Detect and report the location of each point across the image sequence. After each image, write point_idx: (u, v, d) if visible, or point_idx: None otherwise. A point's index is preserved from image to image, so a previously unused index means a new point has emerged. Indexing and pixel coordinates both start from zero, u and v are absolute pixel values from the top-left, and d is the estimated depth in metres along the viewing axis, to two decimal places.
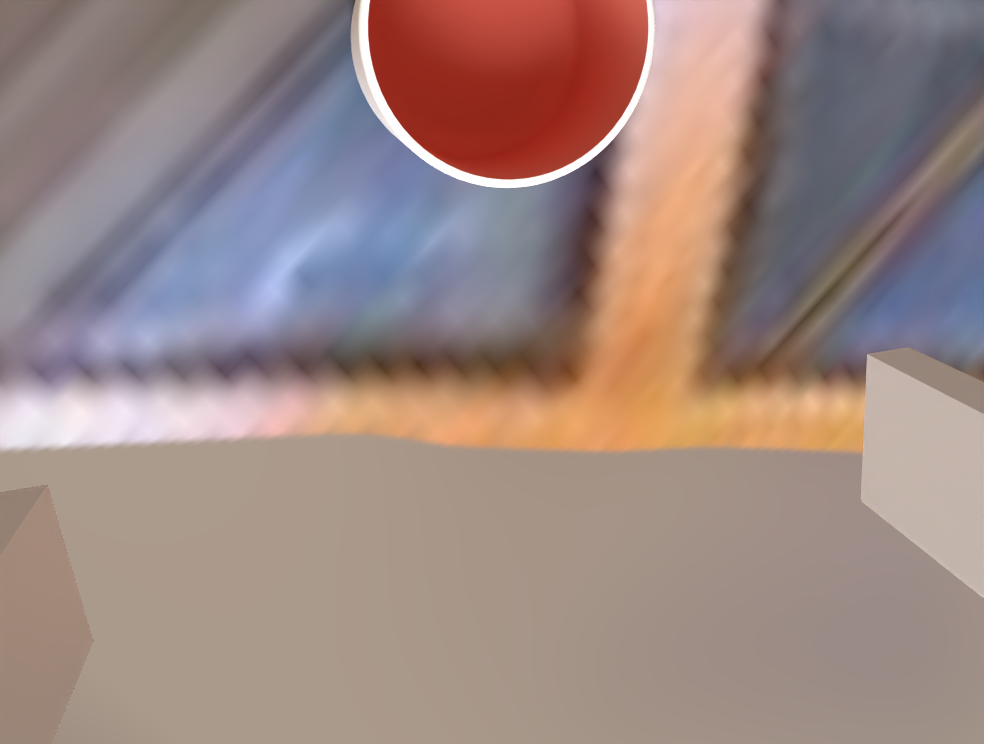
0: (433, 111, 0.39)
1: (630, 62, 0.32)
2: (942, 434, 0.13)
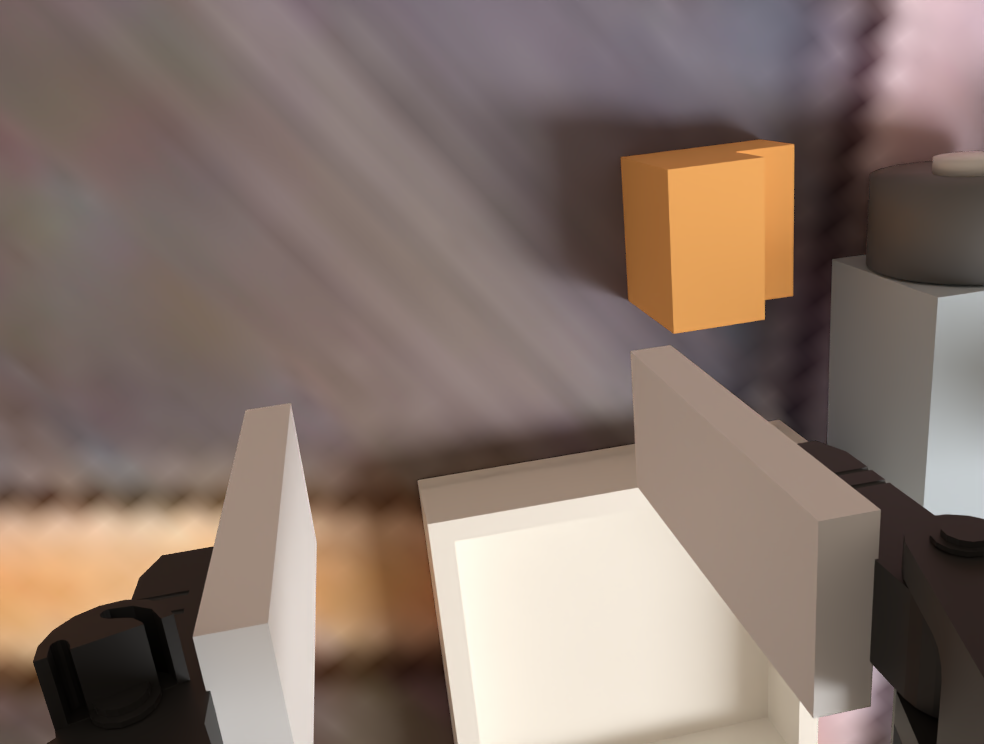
0: None
1: None
2: (672, 423, 0.14)
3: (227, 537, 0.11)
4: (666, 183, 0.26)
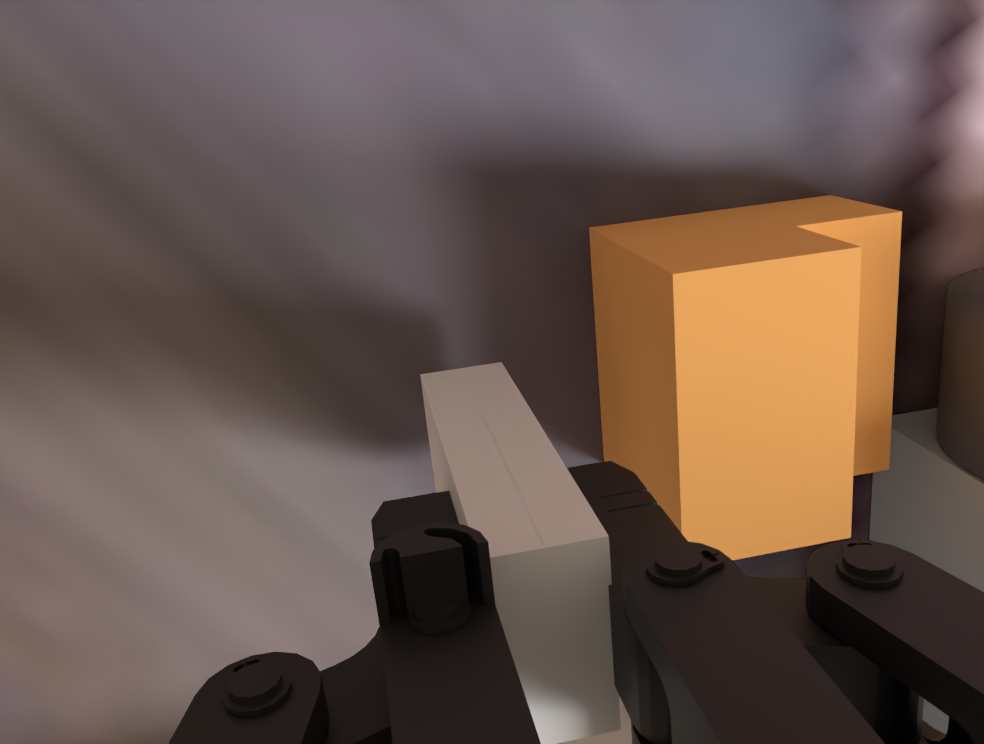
0: None
1: None
2: None
3: (464, 480, 0.12)
4: (670, 299, 0.13)
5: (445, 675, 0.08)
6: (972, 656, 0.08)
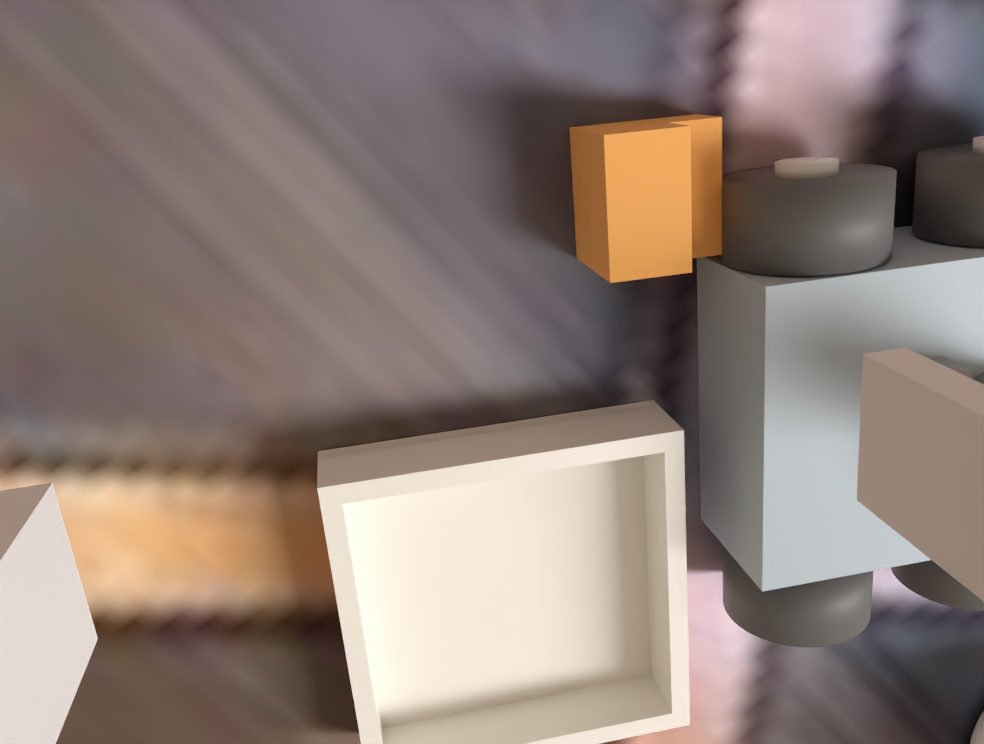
0: None
1: None
2: (936, 433, 0.13)
3: None
4: (603, 147, 0.30)
5: None
6: None
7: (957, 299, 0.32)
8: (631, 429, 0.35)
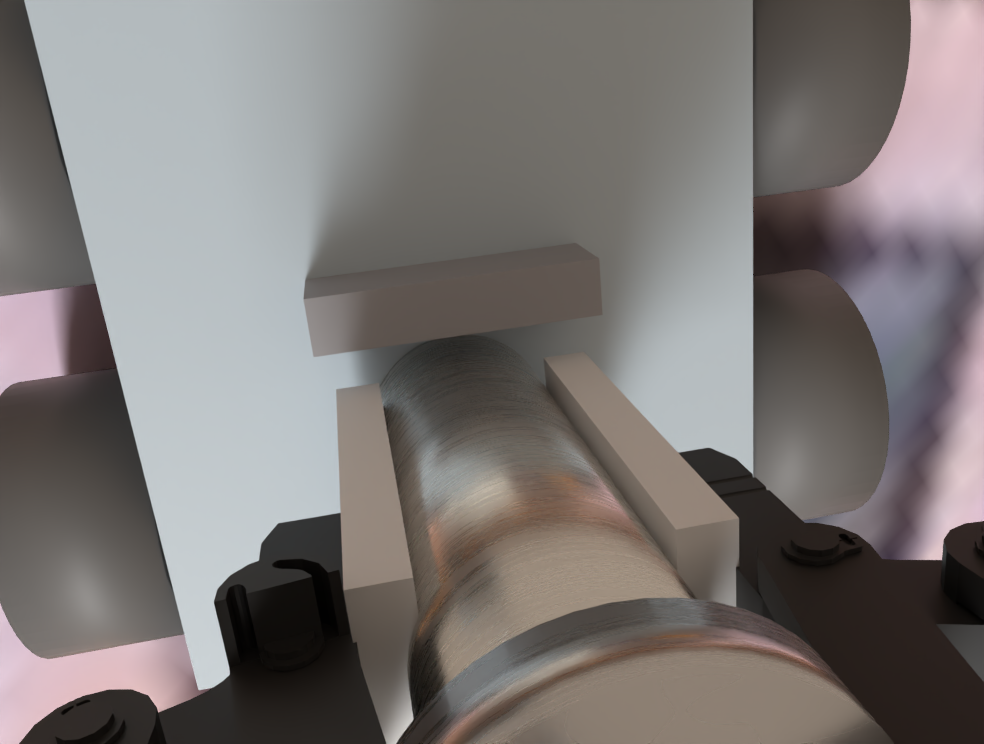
0: None
1: None
2: None
3: (351, 503, 0.11)
4: None
5: (298, 712, 0.08)
6: None
7: (684, 298, 0.17)
8: None
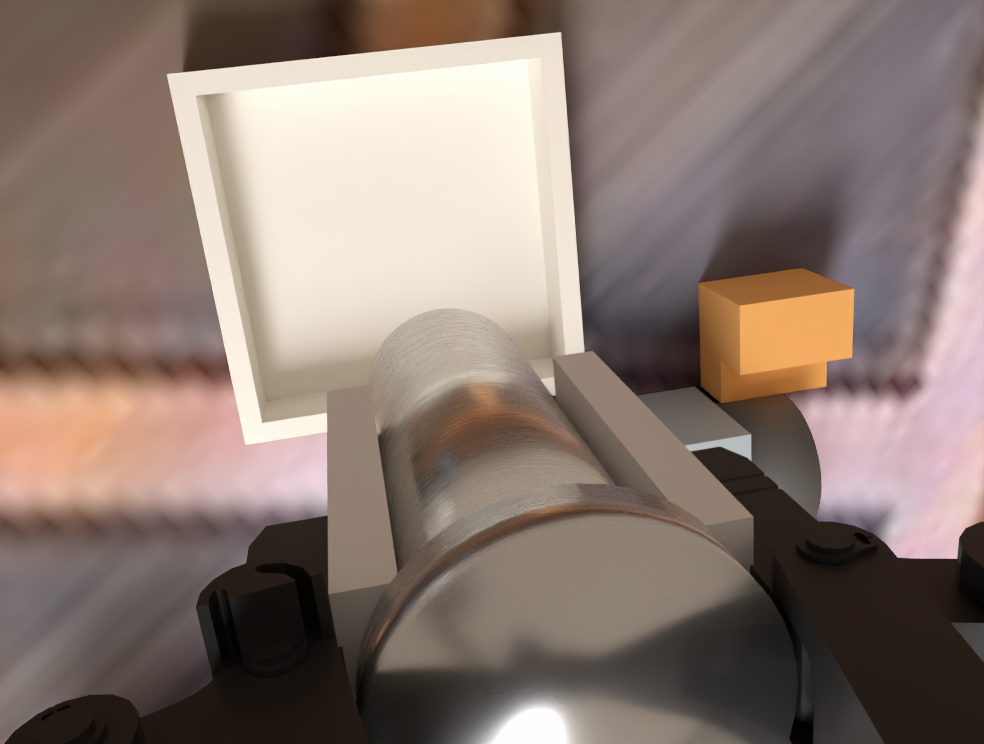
0: None
1: None
2: (584, 429, 0.14)
3: (339, 506, 0.11)
4: (843, 289, 0.37)
5: (281, 717, 0.08)
6: None
7: None
8: None
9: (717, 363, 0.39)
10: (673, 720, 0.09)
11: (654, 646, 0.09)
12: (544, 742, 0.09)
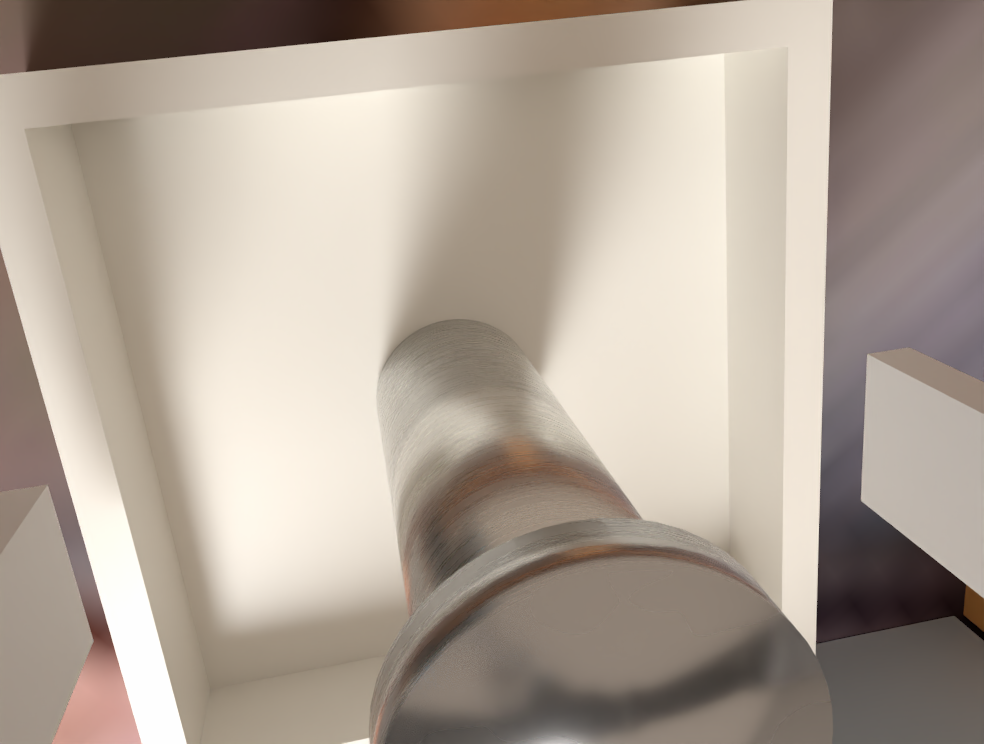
0: None
1: None
2: (942, 434, 0.13)
3: None
4: None
5: None
6: None
7: None
8: None
9: None
10: None
11: (684, 691, 0.08)
12: None
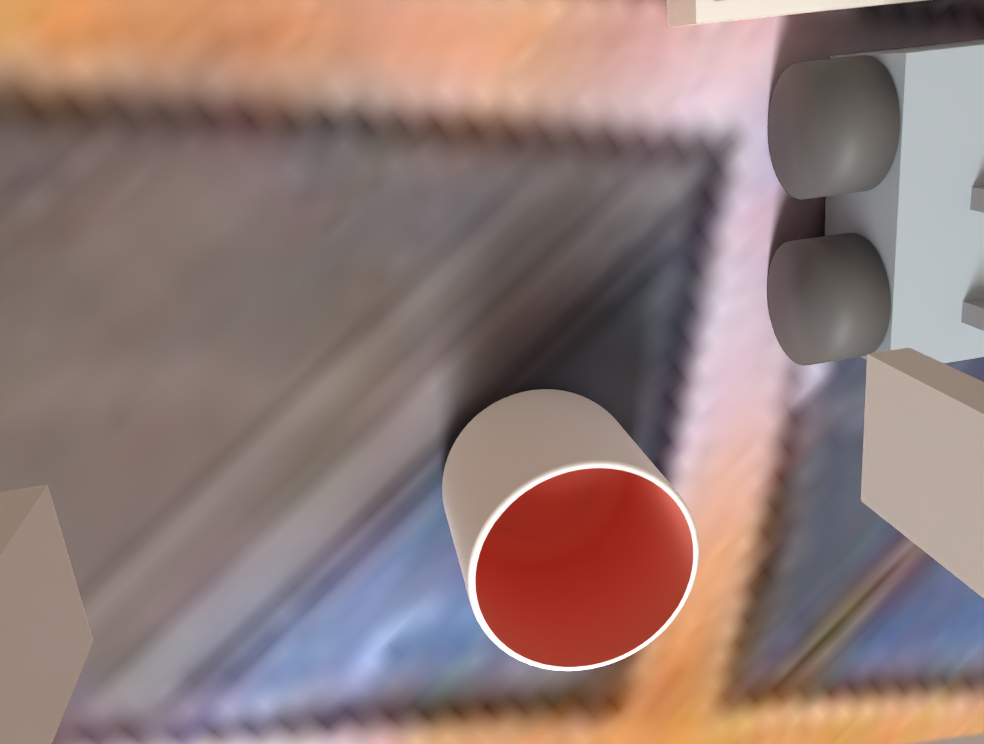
0: (505, 524, 0.47)
1: (677, 561, 0.40)
2: (942, 434, 0.13)
3: None
4: None
5: None
6: None
7: None
8: None
9: None
10: None
11: None
12: None
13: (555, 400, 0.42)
